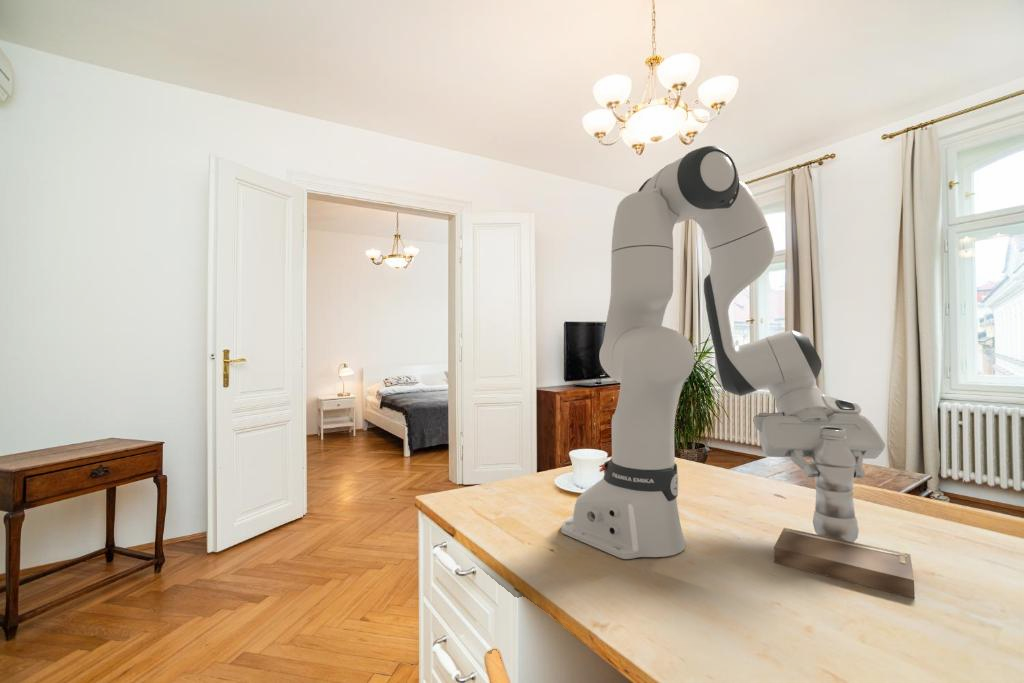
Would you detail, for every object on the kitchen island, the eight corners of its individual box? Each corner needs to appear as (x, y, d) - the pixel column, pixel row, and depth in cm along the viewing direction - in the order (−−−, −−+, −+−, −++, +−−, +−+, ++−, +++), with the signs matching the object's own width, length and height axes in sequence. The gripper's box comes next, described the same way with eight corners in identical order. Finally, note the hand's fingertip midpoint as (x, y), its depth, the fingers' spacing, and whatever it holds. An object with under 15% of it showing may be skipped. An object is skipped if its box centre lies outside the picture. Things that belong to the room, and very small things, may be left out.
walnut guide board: (774, 562, 73) (773, 546, 73) (784, 541, 80) (784, 527, 80) (914, 598, 62) (914, 579, 62) (910, 570, 70) (910, 553, 70)
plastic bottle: (867, 550, 76) (864, 432, 76) (822, 546, 77) (820, 431, 78) (847, 534, 82) (844, 425, 83) (806, 531, 84) (803, 425, 84)
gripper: (754, 403, 88) (778, 465, 78) (867, 403, 86) (907, 468, 76) (746, 422, 93) (768, 483, 83) (853, 423, 90) (889, 486, 80)
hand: (835, 476), depth 79 cm, fingers closed on plastic bottle, 6 cm apart
